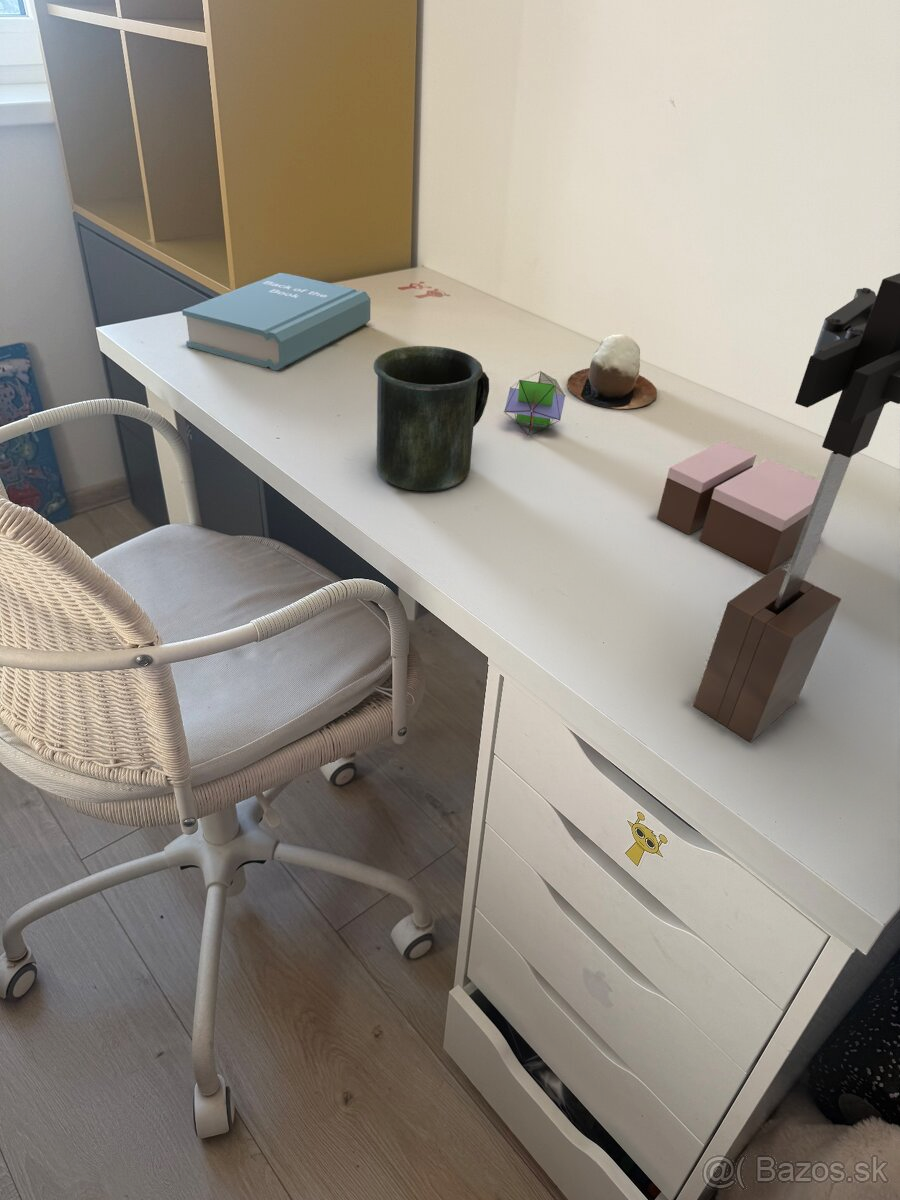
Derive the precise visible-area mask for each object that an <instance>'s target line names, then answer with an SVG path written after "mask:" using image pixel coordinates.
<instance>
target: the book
mask: <svg viewBox="0 0 900 1200" xmlns="http://www.w3.org/2000/svg"><path fill="white" fill-rule="evenodd" d="M181 312H182V316H184V317H186V325H187V333H188V340H186V341H185V345H186V347H187V348H191V349H195V350H198V351H202V352H206V353H209V354H214V355H216V356H220V357H225V358H228V359H231V360H235V361H239V362H243V363H247V364H251V365H254V366H257V367H262V368H266V369H267V368H268V367H269V368H270V369H271V370H273V371H277V372H278V371H280V370H281V369H283V368H285V367H288V366H289V365H291V364H293V363H294V362H296V361H298V360H301V359H302V358H304V357H306V356H308V355H310V354H312V353H313V352H315V351H318V350H319V349H321V348H323V347H325V346H327V345H329V344H331V343H333V342H335V341H336V340H338V339H340V338H342V337H344V336H346V335H348V334H350V333H351V332H353V331H355V330H358V329H359V328H361V327H363V326H365V325H366V324H368V323H369V322H370V321H371V297H370V296H369V295H368V293H367V292H366V291H365V290H362V289H359V290H356V289H355V288H353V287H348V286H344V285H340V284H334V283H330V282H325V281H321V280H317V279H313V278H312V279H311V278H309V277H304V276H300V275H299V276H298V275H295V274H290V273H287V272H286V273H285V272H278V273H276V274H273V275H270V276H267V277H265V278H263V279H260V280H257V281H255V282H252V283H249V284H247V285H244V286H242V287H239V288H237V289H234V290H231V291H228V292H226V293H223V294H220V295H218V296H215V297H212V298H210V299H207V300H205V301H202V302H200V303H197V304H194V305H192V306H189V307H186V308H184V309H182V310H181Z"/></svg>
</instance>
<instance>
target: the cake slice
mask: <svg viewBox="0 0 900 1200" xmlns="http://www.w3.org/2000/svg"><path fill="white" fill-rule="evenodd" d="M756 457H757V454H756V453H754V452H752V451H749V450H747V449H745V448H742V447H740V446H737V445H735V444H733V443H730V442H727V441H726V440H722V441H720V442H718V443H716V444H714V445H712V446H709V447H707V448H706V449H703V450H701V451H699V452H697V453H695V454H693V455H691V456H689V457H687V458H685V459H683V460H681V461H678V462H677V463H675V464H673V465H670V466H669V468H668V471H667V476H666V477H667V478H666V481H665V484H664V488H663V491H662V495H661V499H660V504H659V507H658V512H657V515H656V519H657V520H659V521H661V522H662V523H664V524H667V525H668V526H670V527H673V528H674V529H676V530H678V531H680V532H682V533H684V534H686V535H688V536H689V535H691V534H693V533H695V532H697V531H698V530H700V529H702V528H703V526H704V523H705V519H706V516H707V512H708V509H709V505H710V502H711V499H712V495H713V492H714V488H715V487H717V486H719V485H721V484H723V483H725V482H726V481H728V480H730V479H732V478H734V477H736V476H737V475H739V474H741V473H743V472H745V471H746V470H748V469H750V468H752V467H754V464H755V461H756Z"/></svg>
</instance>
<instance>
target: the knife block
mask: <svg viewBox="0 0 900 1200" xmlns="http://www.w3.org/2000/svg"><path fill="white" fill-rule="evenodd" d="M787 571H788V570H786V569H783V568H782V567H779V566H777V567H776V568H775V569H773V570H772V571H770V572H769V573H767V574H765V576H763V577H762V578H760V579H759V580H757V581H756V582H755V583H753V584H752V585H750V586H748V587H747V588H746V589H745V590H743V591H742V592H740V593H739V594H737V595H736V596H734V597H733V598H732V599H731V600H729V601H728V602H727V603H726V606H725V609H724V612H723V614H722V618H721V621H720V624H719V627H718V630H717V633H716V637H715V639H714V642H713V645H712V648H711V651H710V653H709V654H710V655H709V657H708V661H707V664H706V667H705V669H704V673H703V675H702V677H701V678H702V679H701V682H700V684H699V687H698V690H697V692H696V696H695V699H694V702H693V707H694V708H695V709H697V710H699V711H701V712H702V713H704V714H705V715H707V716H708V717H710V718H711V719H713V720H714V721H716V722H718V723H719V724H721V725H722V726H724V727H726V728H727V729H729V730H730V731H731V732H733V733H735V734H736V735H738V736H740V737H741V738H743V739H744V740H746V741H748V742H749V743H752V742H753V741H754V740H755V739H756V738H758V737H759V736H760V735H761V734H762V733H763V732H764V731H765V730H767V729H768V727H770V726H771V725H772V724H773V723H774V722H775V721H776V720H777V719H779V718H780V717H781V716H782V715H783V714H784V713H785V712H786V711H787V710H788V709H789V708H790V707H792V706H793V705H794V704H795V703H796V702H797V701H798V699H799V697H800V695H801V692H802V690H803V687H804V686H805V683H806V680H807V679H808V677H809V674H810V671H811V670H812V667H813V665H814V662H815V661H816V658H817V655H818V653H819V651H820V649H821V646H822V644H823V642H824V639H825V637H826V635H827V632H828V631H829V628H830V626H831V624H832V621H833V619H834V618H835V617H834V616H835V614H836V612H837V609H838V608H839V605H840V603H841V600H842V598H841V597H839V596H837V595H835V594H833V593H831V592H829V591H827V590H825V589H823V588H821V587H819V586H817V585H815V584H813V583H811V582H809V581H807V580H805V579H804V581H803V583H802V586H801V588H800V591H799V593H798V596H797V599H796V601H795V602H794V603H793V604H791V605H790V606H789V607H787V608H786V609H785V610H783V611H782V612H781V613H780V614H778V615H776V614H774V613H773V612H772V611H773V608H774V606H775V603H776V600H777V598H778V595H779V592H780V590H781V587H782V584H783V582H784V579H785V576H786V573H787Z"/></svg>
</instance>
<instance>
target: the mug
mask: <svg viewBox="0 0 900 1200" xmlns="http://www.w3.org/2000/svg"><path fill="white" fill-rule="evenodd" d="M372 366H373V367H372V368H373V371H374V374H376V376H377V386H376V387H377V390H376V391H377V393H376V394H377V397H376V399H377V400H376V403H377V404H376V464H375V465H376V470H377V471H378V473H379V474H380V475H381V477H382V478H383V479H384V481H386V482H388V483H389V484H391V485H393V486H395V487H398V488H401V489H404V490H410V491H418V492H433V491H434V492H435V491H440V490H441V491H442V490H446V489H449V488H452V487H454V486H456V485H458V484H460V483H462V482H463V480H465V478H466V477H467V476H468V474H469V472H470V469H471V461H472V460H471V459H472V451H473V450H472V449H473V437H474V427H476V425H477V424H478V423H479V422H480V420H481V418H482V416H483V414H484V413H485V412H484V411H485V409H486V406H487V403H488V398H489V395H490V394H489V393H490V378H489V377H488V375H487V373H486V372H484V370H483V366H482V364H481V362H480V361H479V360H478V359H477V358H475V357H474V356H472V355H471V354H468V353H466V352H463V351H461V350H457V349H453V348H450V347H442V346H435V345H412V346H411V345H409V346H403V347H398V348H393V349H391V350H387V351H385V352H383V353H381V354H380V355H378V356H377V357H376V358H375V360H374V361H373V365H372Z"/></svg>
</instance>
